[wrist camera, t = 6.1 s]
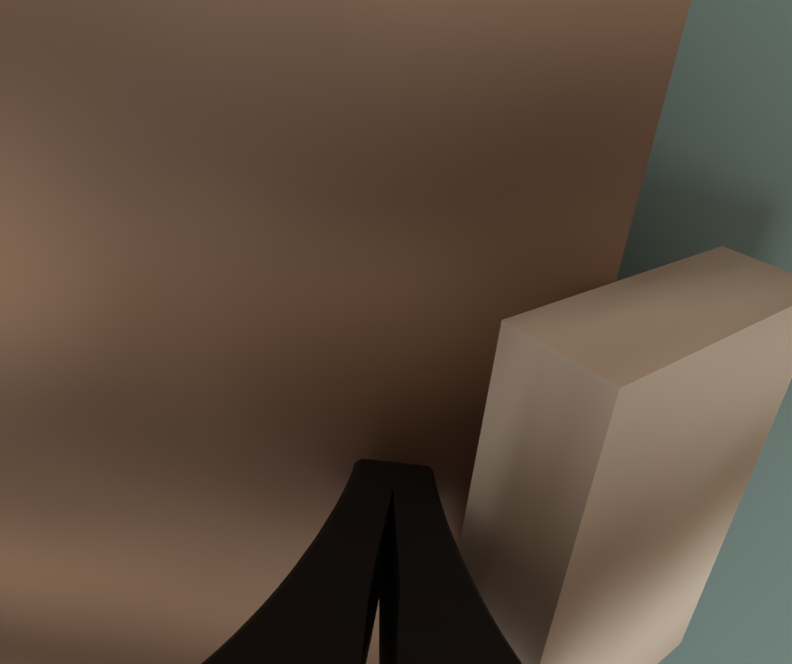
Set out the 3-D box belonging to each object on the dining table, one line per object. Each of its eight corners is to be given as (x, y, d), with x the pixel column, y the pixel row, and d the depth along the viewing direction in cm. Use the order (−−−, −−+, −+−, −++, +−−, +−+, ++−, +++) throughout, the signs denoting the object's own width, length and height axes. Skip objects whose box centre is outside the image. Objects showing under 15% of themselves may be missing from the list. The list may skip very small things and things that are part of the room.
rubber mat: (864, 687, 22) (870, 700, 22) (492, 644, 22) (493, 656, 22) (1266, 41, 13) (1288, 43, 13) (657, -31, 13) (663, -30, 13)
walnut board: (476, 642, 22) (482, 778, 19) (71, 595, 22) (0, 721, 19) (630, -34, 13) (696, -20, 10) (-35, -112, 13) (-204, -126, 10)
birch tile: (608, 586, 18) (680, 643, 17) (426, 720, 15) (499, 805, 13) (722, 245, 14) (829, 287, 13) (502, 319, 10) (619, 388, 9)
